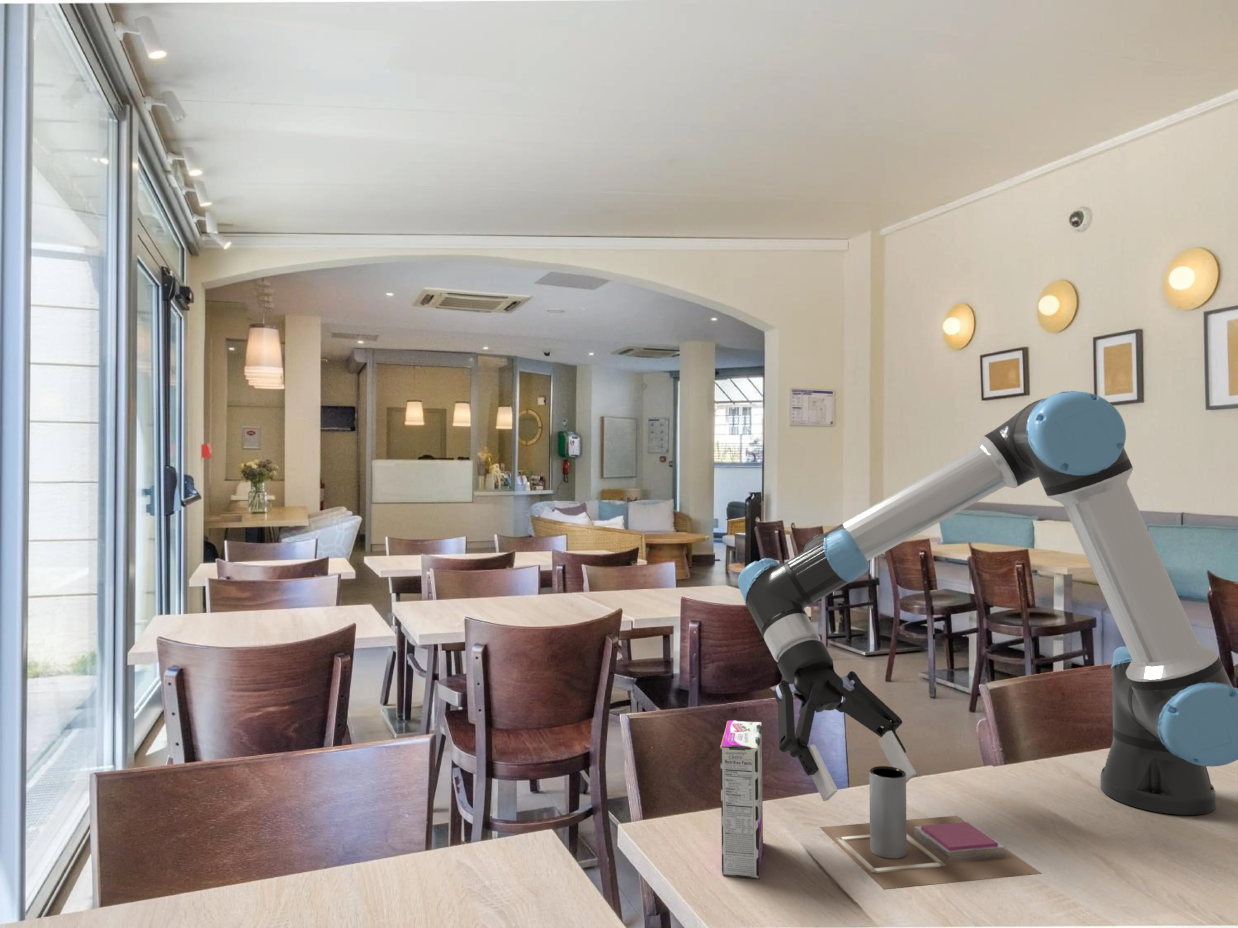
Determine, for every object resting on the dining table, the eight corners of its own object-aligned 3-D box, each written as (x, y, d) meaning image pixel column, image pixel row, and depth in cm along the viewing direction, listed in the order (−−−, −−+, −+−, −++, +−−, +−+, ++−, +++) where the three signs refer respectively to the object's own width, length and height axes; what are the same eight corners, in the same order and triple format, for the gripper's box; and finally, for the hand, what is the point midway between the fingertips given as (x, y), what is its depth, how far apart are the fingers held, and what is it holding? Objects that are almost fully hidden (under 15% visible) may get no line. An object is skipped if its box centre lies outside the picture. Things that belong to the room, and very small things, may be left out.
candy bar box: (726, 838, 118) (726, 718, 118) (763, 842, 117) (763, 721, 117) (719, 876, 107) (719, 744, 107) (759, 880, 106) (759, 746, 106)
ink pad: (968, 830, 118) (968, 819, 118) (1004, 856, 110) (1004, 844, 110) (914, 835, 117) (914, 824, 117) (948, 861, 109) (948, 849, 109)
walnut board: (956, 822, 123) (956, 814, 123) (1041, 881, 106) (1041, 871, 106) (819, 834, 119) (819, 825, 119) (884, 897, 102) (883, 886, 102)
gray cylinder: (908, 860, 109) (908, 778, 109) (871, 857, 110) (871, 776, 110) (904, 845, 114) (903, 766, 114) (868, 842, 114) (868, 764, 115)
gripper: (851, 658, 136) (924, 785, 122) (718, 675, 124) (782, 816, 111) (875, 630, 131) (954, 758, 117) (739, 645, 120) (809, 789, 106)
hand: (871, 787), depth 114 cm, fingers open, 13 cm apart
